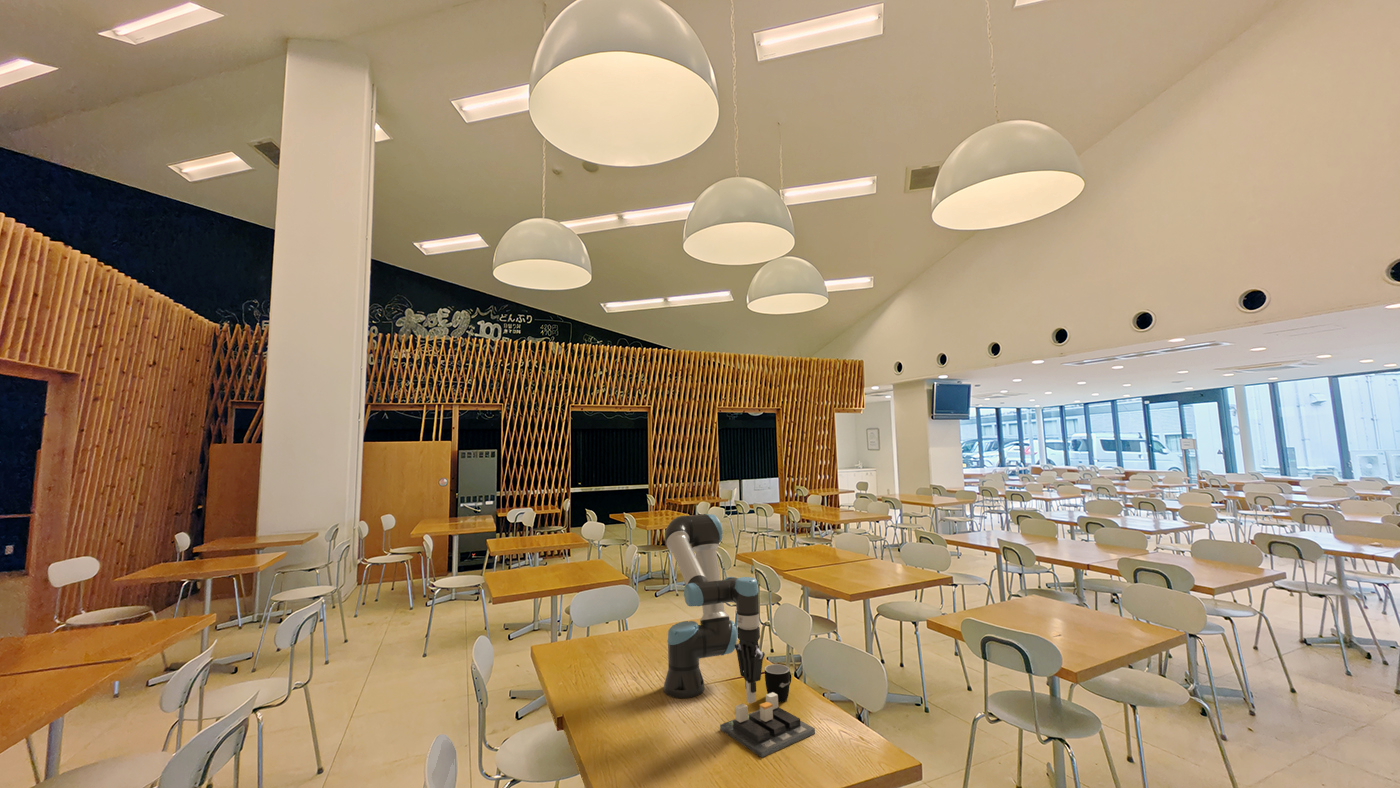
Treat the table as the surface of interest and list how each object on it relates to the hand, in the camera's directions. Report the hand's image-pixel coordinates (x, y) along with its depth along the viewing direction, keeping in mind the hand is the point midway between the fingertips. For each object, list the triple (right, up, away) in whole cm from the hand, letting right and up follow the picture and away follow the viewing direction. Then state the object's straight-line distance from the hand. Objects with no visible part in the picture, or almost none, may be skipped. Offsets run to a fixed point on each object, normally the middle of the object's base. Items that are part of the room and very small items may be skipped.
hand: (751, 701), depth 174 cm
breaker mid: (+4, -2, -6) cm, 8 cm away
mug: (+12, -8, +17) cm, 23 cm away
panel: (+4, -6, -7) cm, 10 cm away
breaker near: (-4, -2, -6) cm, 7 cm away
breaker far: (+7, -3, +1) cm, 8 cm away
